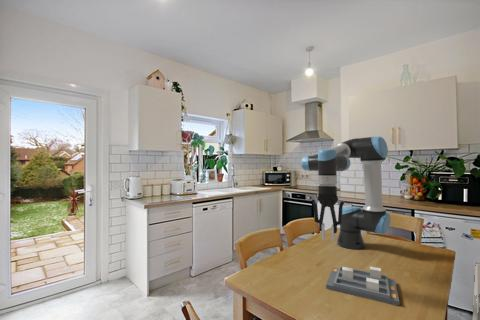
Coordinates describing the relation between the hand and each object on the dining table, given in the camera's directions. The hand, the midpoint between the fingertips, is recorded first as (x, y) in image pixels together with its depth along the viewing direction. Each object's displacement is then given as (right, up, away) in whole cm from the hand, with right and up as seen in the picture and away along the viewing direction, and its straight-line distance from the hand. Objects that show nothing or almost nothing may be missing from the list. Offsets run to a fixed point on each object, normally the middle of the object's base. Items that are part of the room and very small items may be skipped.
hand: (328, 239), depth 102 cm
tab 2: (+18, -15, -4) cm, 24 cm away
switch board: (+11, -16, -7) cm, 21 cm away
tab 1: (+7, -15, -4) cm, 17 cm away
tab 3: (+11, -15, -14) cm, 23 cm away
